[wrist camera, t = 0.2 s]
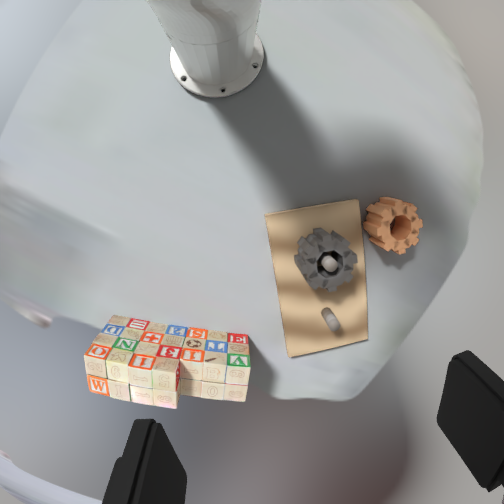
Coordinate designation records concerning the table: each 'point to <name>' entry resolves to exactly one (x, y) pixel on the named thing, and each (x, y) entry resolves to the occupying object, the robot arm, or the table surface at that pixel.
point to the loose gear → (402, 230)
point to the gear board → (309, 298)
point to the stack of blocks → (166, 363)
